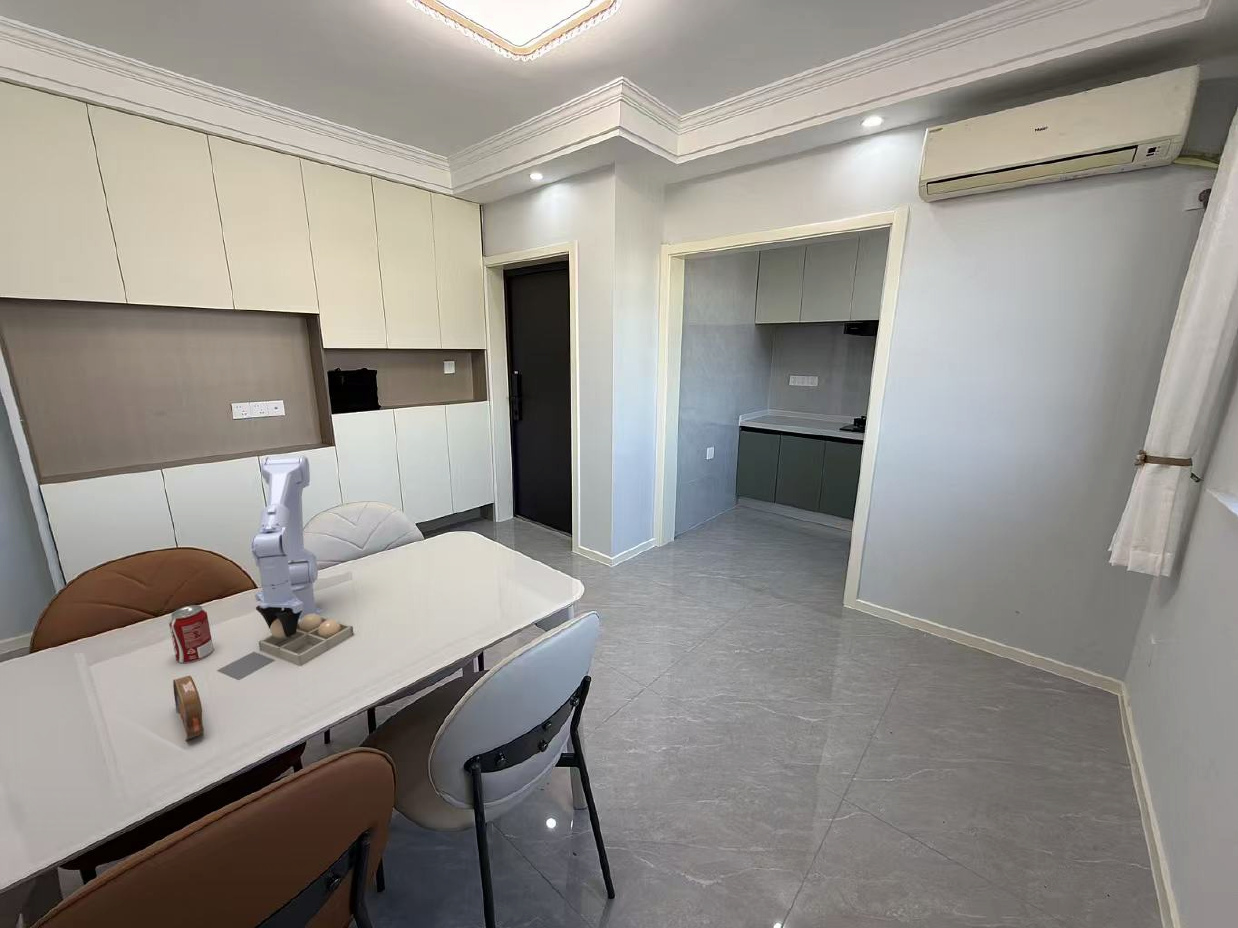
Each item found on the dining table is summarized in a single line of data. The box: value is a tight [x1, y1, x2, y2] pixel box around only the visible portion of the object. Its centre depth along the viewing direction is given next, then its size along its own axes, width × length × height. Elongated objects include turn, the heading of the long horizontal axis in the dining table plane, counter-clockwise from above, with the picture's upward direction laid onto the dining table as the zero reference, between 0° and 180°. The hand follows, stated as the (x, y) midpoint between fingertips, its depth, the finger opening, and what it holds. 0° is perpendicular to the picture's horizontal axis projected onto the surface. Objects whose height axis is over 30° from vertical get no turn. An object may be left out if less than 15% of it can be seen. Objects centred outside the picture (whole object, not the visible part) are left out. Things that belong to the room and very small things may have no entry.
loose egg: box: [269, 618, 286, 638], centre depth 121 cm, size 5×5×5 cm
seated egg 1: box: [299, 613, 322, 633], centre depth 128 cm, size 5×5×5 cm
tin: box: [172, 675, 205, 741], centre depth 96 cm, size 15×3×8 cm, turn 47°
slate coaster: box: [216, 651, 276, 681], centre depth 115 cm, size 8×8×1 cm
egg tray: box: [258, 615, 354, 667], centre depth 124 cm, size 14×14×3 cm
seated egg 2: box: [318, 619, 341, 639], centre depth 125 cm, size 5×5×5 cm
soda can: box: [168, 604, 214, 664], centre depth 117 cm, size 7×7×12 cm
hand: (283, 632), depth 121 cm, fingers closed on loose egg, 5 cm apart
